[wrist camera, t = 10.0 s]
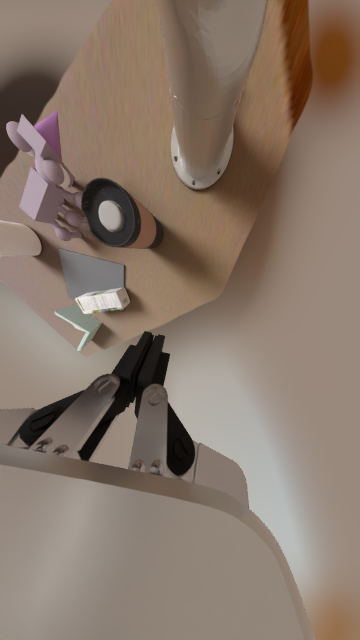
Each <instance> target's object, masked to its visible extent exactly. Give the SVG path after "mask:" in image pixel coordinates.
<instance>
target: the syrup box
mask: <svg viewBox="0 0 360 640" xmlns="http://www.w3.org/2000/svg"><path fill="white" fill-rule="evenodd" d="M75 300H76V302H77V304H78V306H79V307H80V309H81V310H82V312H83V313H84V314H89V313H97V312H105V311H113V310H121V309H124V308H125V307H126V306H127V305H128V304H129V303H130V300H129V297H128V294H127V292H126V289H125V288H124V287H122V288H115V289H109V290H102V291H96V292H90V293H86V294H84V295H81V296H79V297H77V298H75Z"/></svg>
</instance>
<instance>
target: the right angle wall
mask: <svg viewBox="0 0 360 640" xmlns="http://www.w3.org/2000/svg"><path fill="white" fill-rule="evenodd" d="M55 314H56V315H58V316H59V317H61V318H63V319H64V320H66V321H68V322H69V323H71V324H72V325H74V327H75V328H77V329H79V330H80V331H81V330H82V331H85V332H86V334H85V335H84V337H83V339H82V341H81V343H80V345H79V347H78V348H77V350H78V351H80V350H81V349H82V348H84V347H85V346H86V345H87V344H88V343H89V342H90V341H91V340H92V339H93V337H94V335H95V334H96V332H97V330H98V329H99V327H100V325H101V324H102V322H100V321H99V320H97V319H95V318H94V317H92V316H91V315H89V314H84V313H83V312H82V310H81V309H80V308H78V307H76V306H75V305H73V304H71V305H69V306H67V307H65V308H63V309H60V310H58V311H56V312H55Z"/></svg>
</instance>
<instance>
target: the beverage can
mask: <svg viewBox="0 0 360 640" xmlns="http://www.w3.org/2000/svg"><path fill="white" fill-rule="evenodd" d="M40 252H41V243H40V240H39V238H38V237H37V235H36V234H35V233H34V232H33V231H32V230H31V229H30V228H29V227H27V226H26V225H23V224H19V223H13V222H7V221H0V257H13V256H36V255H39V254H40Z"/></svg>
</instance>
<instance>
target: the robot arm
mask: <svg viewBox="0 0 360 640" xmlns="http://www.w3.org/2000/svg"><path fill="white" fill-rule="evenodd" d="M156 2H157V7H158V13H159V19H160V25H161V32H162V38H163V45H164V52H165V59H166V66H167V74H168V81H169V89H170V96H171V103H172V110H173V117H174V127H173V131H172V136H171V156H172V162H173V165H174V169H175V171H176V174H177V176H178V177H179V179H180V180H181V181H182V182H183V184H184V185H186V186H187V187H189V188H191V189H194V190H202V189H206V188H208V187H210V186H211V185H213V184H214V183H215V182H216V181H217V180H218V179H219V178H220V177H221V175H222V174H223V172H224V170H225V168H226V166H227V164H228V162H229V159H230V156H231V152H232V147H233V138H234V130H233V122H234V119H235V116H236V113H237V110H238V107H239V104H240V101H241V98H242V94H243V91H244V88H245V85H246V82H247V79H248V76H249V73H250V70H251V67H252V64H253V61H254V57H255V54H256V51H257V48H258V44H259V41H260V37H261V33H262V29H263V24H264V20H265V14H266V8H267V3H268V0H156ZM175 160H177V162H175ZM217 172H219V174H217ZM193 183H195V185H193ZM153 337H154V335H152V333H151V332H146V331H145V332H144V333H143V335H142V337H141V338H140V340H139V342H138V344H137V345H136V346H134V345H130V346H129V347H128V349H127V350H126V352H125V353H124V355H123V356H122V358H121V359H120V361H119V363H118V364H117V366H116V367H115V369H114V370H113V372H112V373H111V374H105V375H102V376H100V377H98V378H97V379H96V380H94V381H93V382H92V383H91V384H90V385H89V386H88V388H87V389H85V390H83V391H80V392H78V393H76V394H73V395H71V396H69V397H66V398H64V399H62V400H59V401H57V402H55V403H52V404H50V405H48V406H45V407H43V408H41V409H39V410H35V409H34V408H23V409H22V408H21V409H0V640H316V639H315V636H314V633H313V630H312V627H311V624H310V621H309V619H308V616H307V613H306V610H305V607H304V604H303V601H302V598H301V596H300V593H299V590H298V588H297V585H296V582H295V580H294V577H293V575H292V572H291V570H290V567H289V565H288V562H287V560H286V558H285V556H284V554H283V552H282V550H281V548H280V546H279V544H278V542H277V540H276V539H275V537H274V536H273V535H272V533H271V532H270V530H269V529H268V528H267V526H265V524H264V523H263V522H262V521H261V520H260V519H259V518H258V517H257V516H256V515H255V514H254V513H253V512H252V511H251V510H250V509H249V504H248V503H249V502H248V492H247V483H246V478H245V476H244V474H243V471H242V469H241V468H240V467H239V466H238V464H237V463H235V462H234V461H233V460H231V459H229V458H227V457H225V456H224V455H222V454H220V453H218V452H216V451H214V450H213V449H211V448H209V447H207V446H205V445H203V444H202V443H199V444H198V443H196V442H195V441H193V440H192V439H191V437H190V435H189V434H188V432H187V431H186V429H185V428H184V426H183V424H182V423H181V421H180V420H179V418H178V417H177V415H176V414H175V412H174V410H173V409H172V407H171V406H170V404H169V403H168V395H167V391H166V389H165V388H164V387H163V385H164V380H165V375H166V371H167V366H168V362H169V357H170V354H168V353H163V352H162V348H163V344H164V339H165V336H163V335H158V336H155V338H154V340H153ZM135 397H136V403H135V404H136V405H135V415H136V417H137V425H136V431H135V436H134V441H133V446H132V452H131V457H130V462H129V467H128V469H124V468H119V467H114V466H109V465H104V464H99V463H94V462H92V460H93V458H94V457H95V455H96V453H97V451H98V450H99V448H100V446H101V445H102V443H103V441H104V440H105V438H106V436H107V435H108V433H109V431H110V430H111V428H112V426H113V425H114V423H115V421H116V419H117V418H118V416H119V414H120V413H122V412H123V411H124V410H125V408H126V407H129V405H130V402H131V403H133V402H134V400H135Z"/></svg>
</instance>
